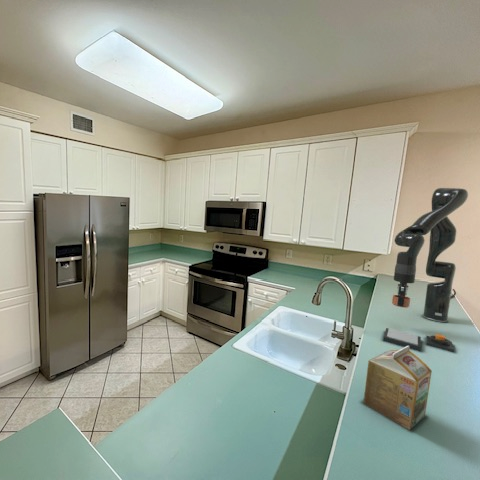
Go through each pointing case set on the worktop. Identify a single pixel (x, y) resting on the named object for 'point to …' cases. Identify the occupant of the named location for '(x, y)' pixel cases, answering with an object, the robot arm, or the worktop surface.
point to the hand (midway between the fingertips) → (400, 304)
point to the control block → (439, 343)
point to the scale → (402, 339)
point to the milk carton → (398, 386)
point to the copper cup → (406, 301)
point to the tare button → (440, 337)
